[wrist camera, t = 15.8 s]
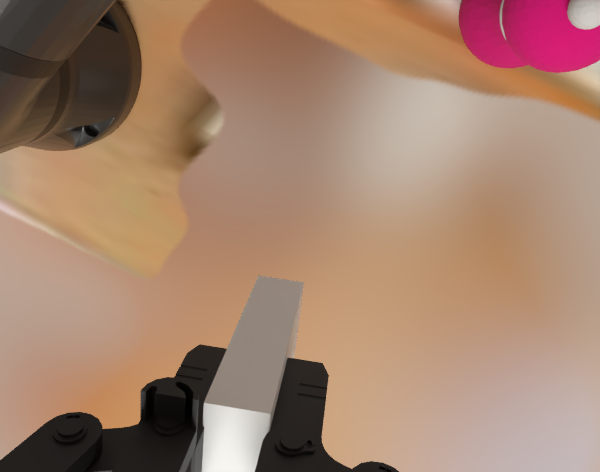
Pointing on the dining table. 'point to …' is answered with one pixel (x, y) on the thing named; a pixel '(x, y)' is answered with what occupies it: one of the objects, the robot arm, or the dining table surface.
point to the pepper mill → (532, 33)
